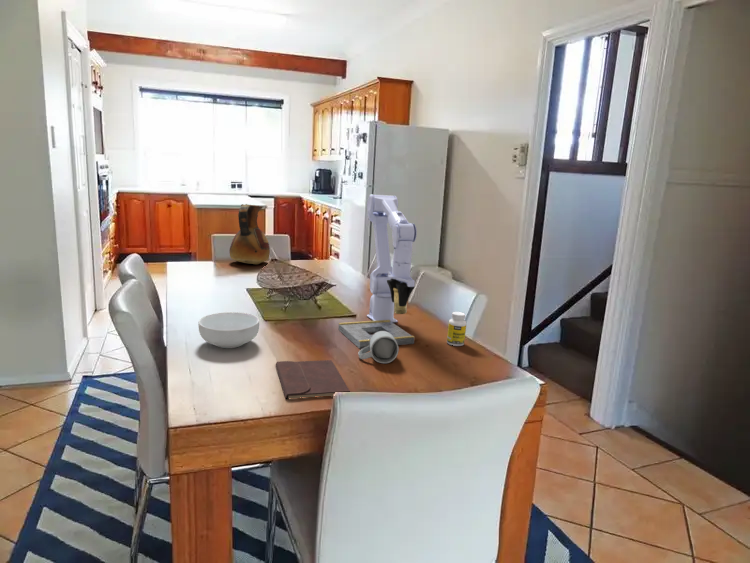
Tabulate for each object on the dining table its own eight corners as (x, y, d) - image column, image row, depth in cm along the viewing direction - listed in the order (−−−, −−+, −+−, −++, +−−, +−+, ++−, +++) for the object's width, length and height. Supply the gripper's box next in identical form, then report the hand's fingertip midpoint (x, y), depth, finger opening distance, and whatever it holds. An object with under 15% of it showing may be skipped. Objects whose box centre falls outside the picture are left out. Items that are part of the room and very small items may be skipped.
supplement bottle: (450, 346, 159) (453, 316, 157) (443, 341, 164) (446, 311, 162) (467, 346, 160) (470, 315, 158) (459, 340, 165) (462, 310, 163)
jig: (338, 329, 168) (338, 323, 168) (388, 326, 175) (389, 319, 175) (359, 348, 152) (359, 341, 152) (413, 343, 159) (414, 336, 159)
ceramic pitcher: (274, 261, 274) (276, 204, 268) (261, 268, 255) (262, 206, 248) (239, 258, 277) (239, 201, 270) (223, 265, 257) (223, 203, 251)
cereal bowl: (197, 335, 154) (197, 312, 153) (254, 332, 160) (254, 310, 159) (200, 356, 139) (199, 330, 137) (263, 352, 145) (263, 327, 143)
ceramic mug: (393, 353, 150) (394, 327, 149) (398, 363, 142) (399, 337, 141) (356, 353, 149) (357, 327, 147) (359, 363, 141) (360, 336, 139)
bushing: (390, 311, 168) (390, 287, 166) (403, 309, 170) (403, 285, 168) (397, 315, 164) (397, 290, 162) (410, 313, 166) (410, 288, 164)
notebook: (332, 365, 140) (332, 358, 139) (350, 397, 121) (351, 389, 121) (275, 368, 135) (275, 361, 135) (285, 401, 117) (285, 393, 116)
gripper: (380, 257, 168) (377, 298, 171) (401, 266, 155) (398, 310, 158) (400, 257, 171) (397, 297, 174) (422, 266, 158) (418, 309, 161)
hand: (398, 303), depth 166 cm, fingers closed on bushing, 4 cm apart
